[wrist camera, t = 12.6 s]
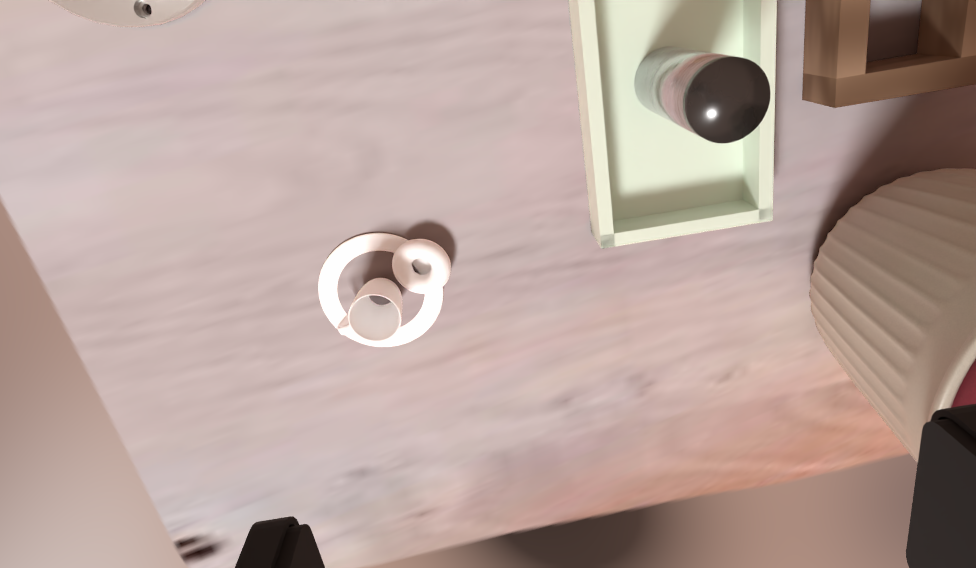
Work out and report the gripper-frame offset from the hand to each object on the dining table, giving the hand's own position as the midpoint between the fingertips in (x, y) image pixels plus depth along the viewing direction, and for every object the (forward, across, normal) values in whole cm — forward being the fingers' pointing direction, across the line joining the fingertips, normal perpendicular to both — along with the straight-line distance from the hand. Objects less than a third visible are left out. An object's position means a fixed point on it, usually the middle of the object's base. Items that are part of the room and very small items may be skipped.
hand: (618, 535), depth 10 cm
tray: (+30, -10, -2) cm, 32 cm away
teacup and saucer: (+31, +6, +10) cm, 33 cm away
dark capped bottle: (+29, -10, -2) cm, 31 cm away
